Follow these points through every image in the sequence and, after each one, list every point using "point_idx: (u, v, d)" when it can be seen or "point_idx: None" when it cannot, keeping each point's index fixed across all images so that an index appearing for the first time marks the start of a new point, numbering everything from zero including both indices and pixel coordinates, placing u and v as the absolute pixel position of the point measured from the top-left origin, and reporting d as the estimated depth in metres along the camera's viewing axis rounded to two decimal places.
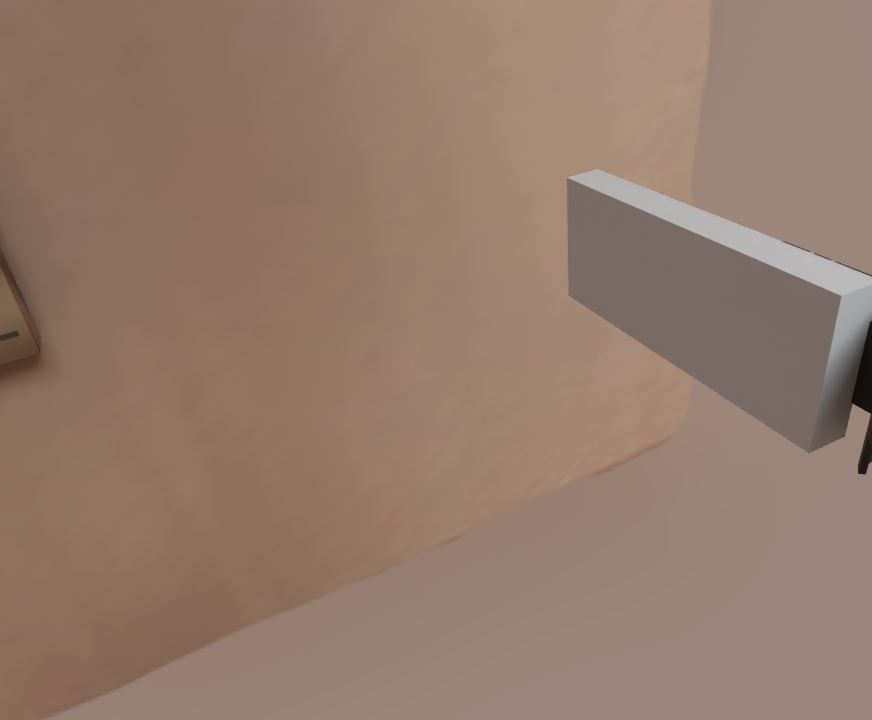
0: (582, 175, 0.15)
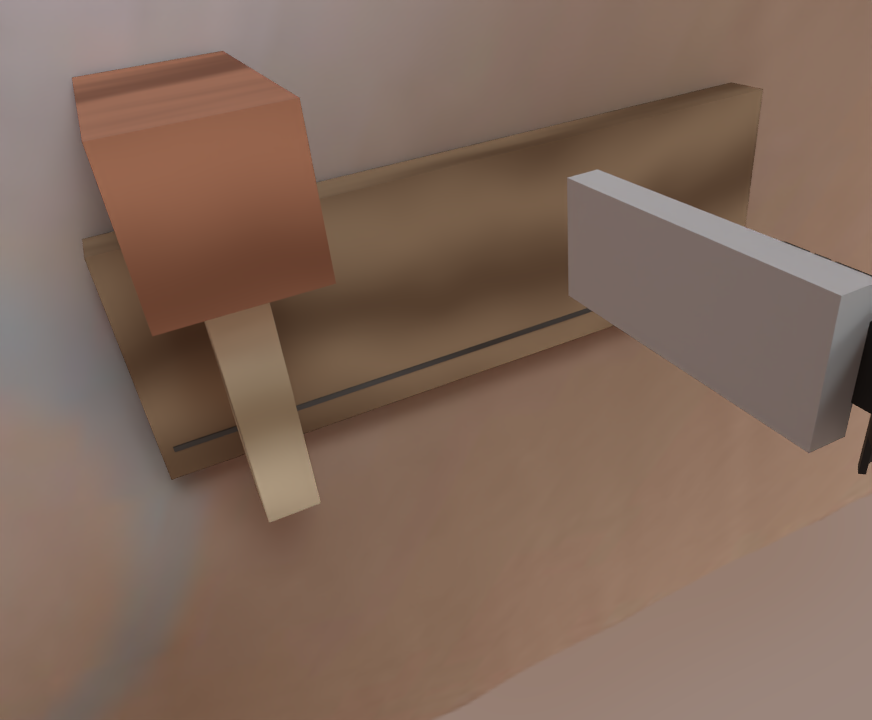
0: (582, 175, 0.15)
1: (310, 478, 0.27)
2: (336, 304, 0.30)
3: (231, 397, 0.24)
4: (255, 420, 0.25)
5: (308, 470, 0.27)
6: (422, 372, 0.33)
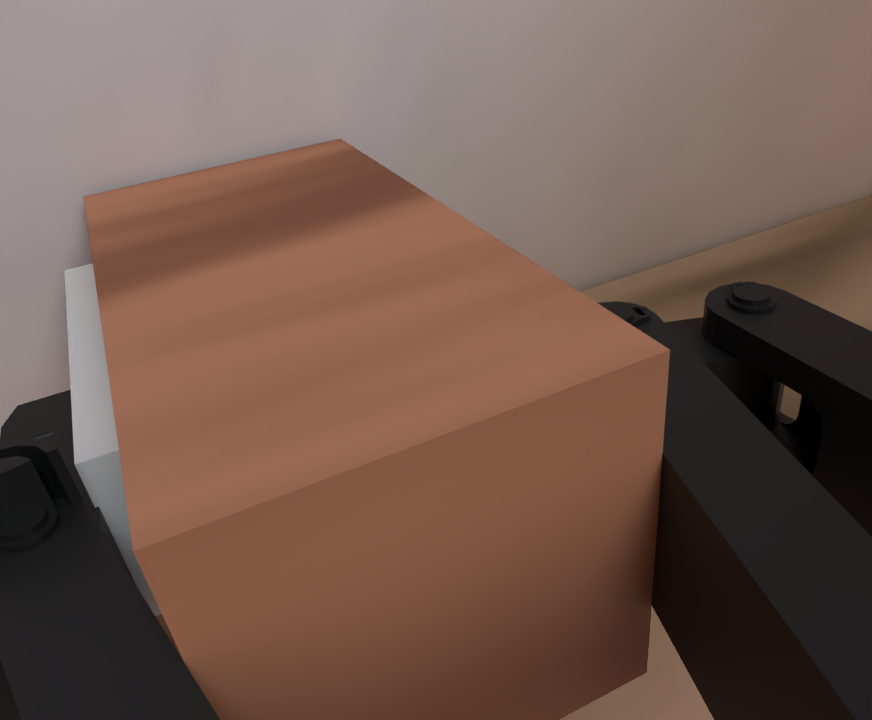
0: None
1: None
2: None
3: None
4: None
5: None
6: None
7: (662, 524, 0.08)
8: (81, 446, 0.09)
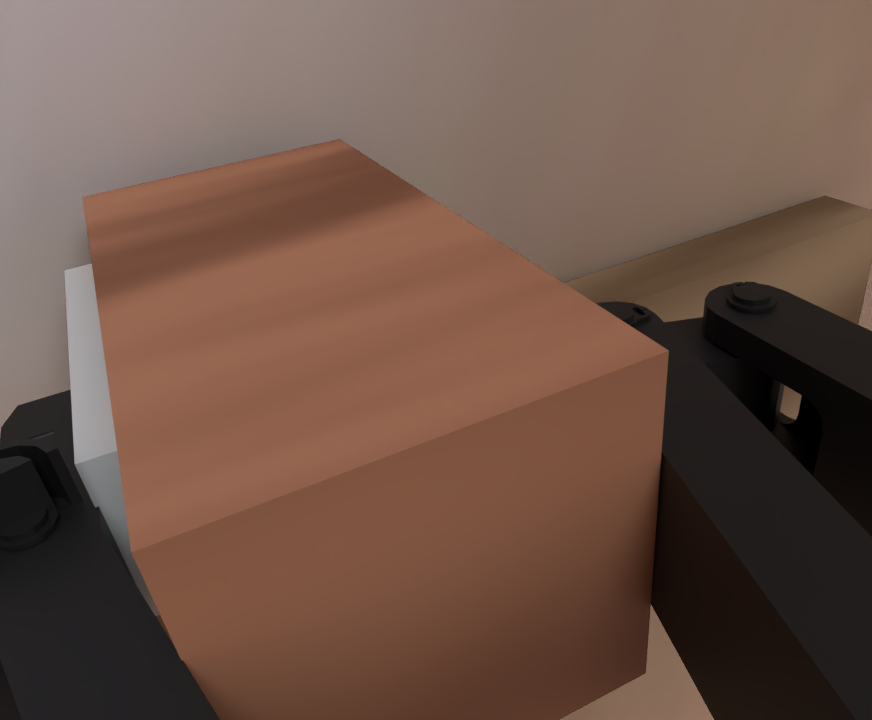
0: None
1: None
2: None
3: None
4: None
5: None
6: None
7: (662, 524, 0.08)
8: (81, 446, 0.09)
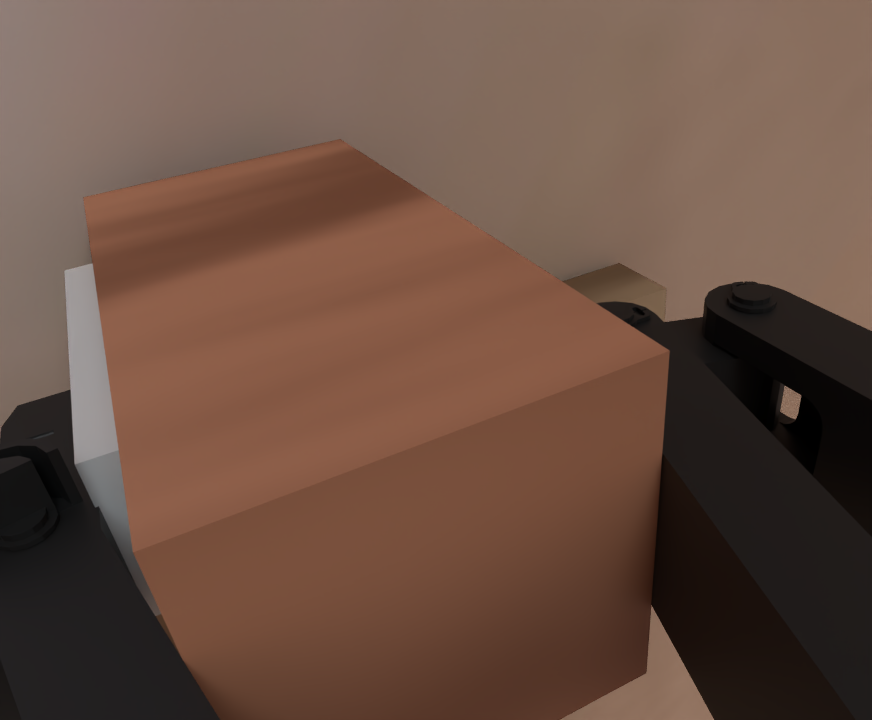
0: None
1: None
2: None
3: None
4: None
5: None
6: None
7: (662, 524, 0.08)
8: (82, 446, 0.09)
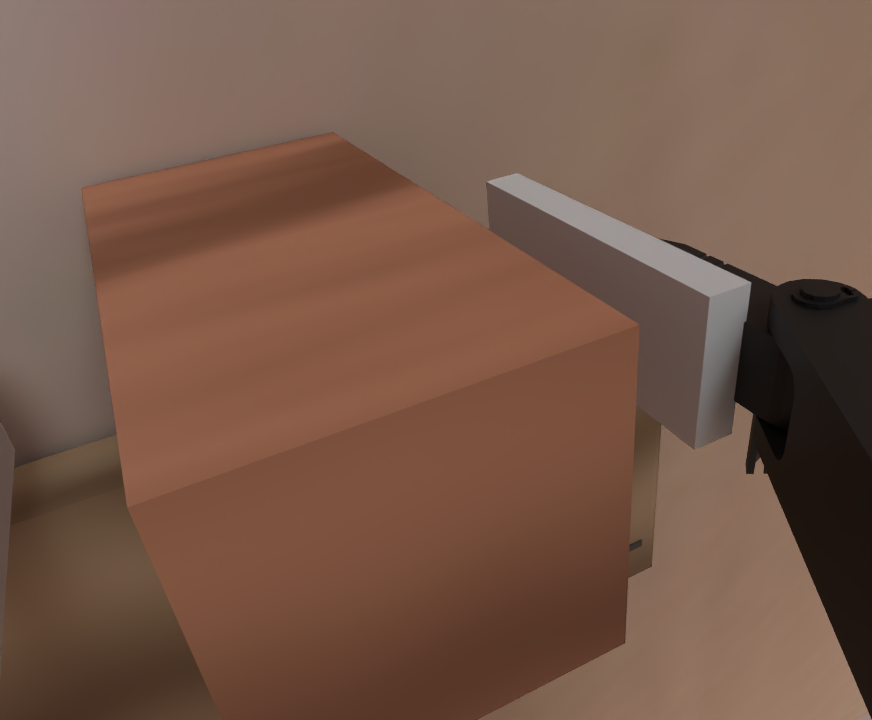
0: (501, 179, 0.15)
1: None
2: None
3: None
4: None
5: None
6: None
7: (836, 494, 0.08)
8: None
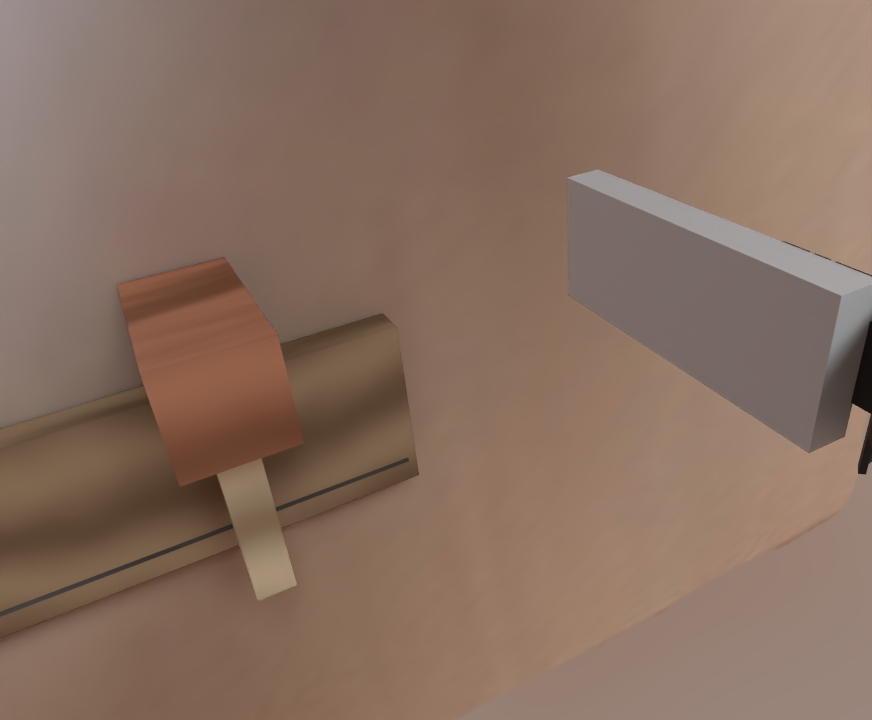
0: (582, 175, 0.15)
1: (288, 567, 0.36)
2: None
3: (230, 513, 0.33)
4: (248, 528, 0.34)
5: (287, 561, 0.36)
6: (87, 586, 0.37)
7: None
8: None
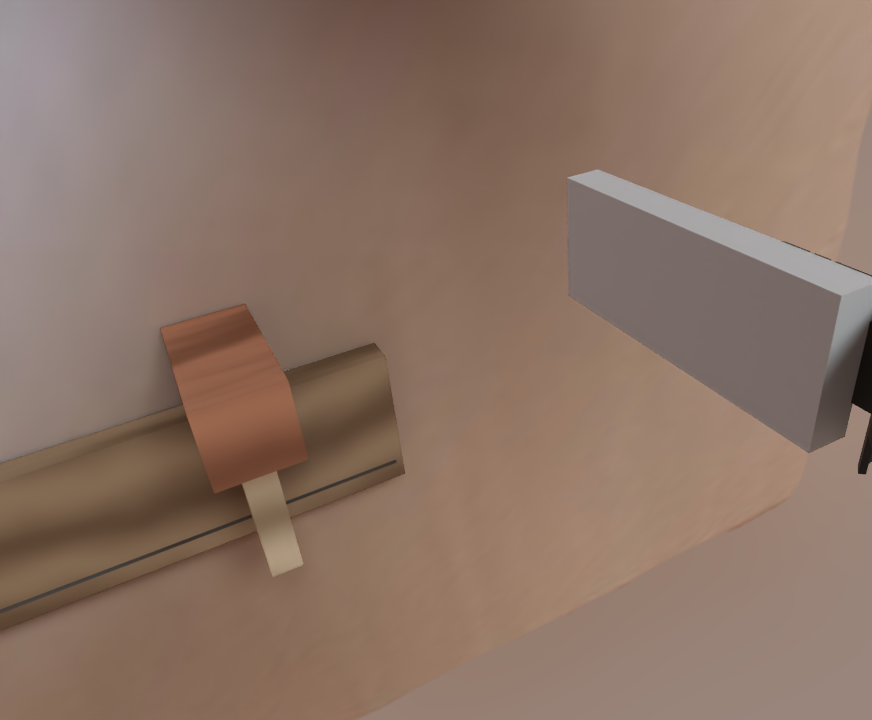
0: (582, 175, 0.15)
1: (297, 550, 0.45)
2: (55, 532, 0.43)
3: (251, 509, 0.42)
4: (265, 520, 0.43)
5: (296, 546, 0.45)
6: (136, 564, 0.46)
7: None
8: None
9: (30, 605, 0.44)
